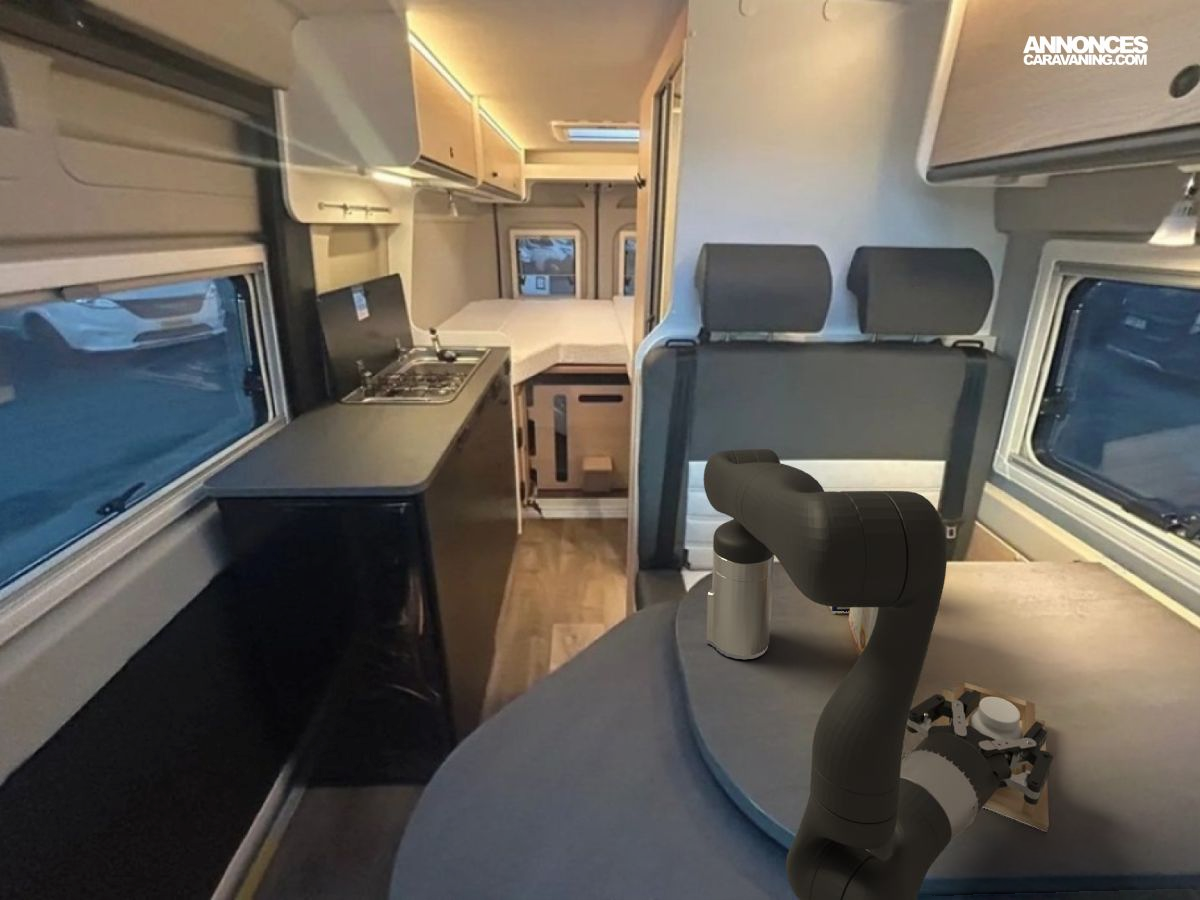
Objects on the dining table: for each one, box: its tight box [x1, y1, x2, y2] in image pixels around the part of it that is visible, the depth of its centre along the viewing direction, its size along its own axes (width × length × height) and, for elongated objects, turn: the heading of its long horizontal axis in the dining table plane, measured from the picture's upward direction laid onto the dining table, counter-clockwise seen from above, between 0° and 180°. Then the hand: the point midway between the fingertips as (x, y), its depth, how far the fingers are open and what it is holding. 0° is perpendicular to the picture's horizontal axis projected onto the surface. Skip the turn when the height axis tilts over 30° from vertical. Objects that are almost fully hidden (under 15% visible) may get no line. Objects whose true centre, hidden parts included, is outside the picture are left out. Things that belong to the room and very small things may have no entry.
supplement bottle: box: [968, 697, 1023, 775], centre depth 73 cm, size 5×5×10 cm
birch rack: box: [935, 680, 1050, 833], centre depth 78 cm, size 12×18×4 cm, turn 147°
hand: (1006, 712), depth 74 cm, fingers open, 6 cm apart
